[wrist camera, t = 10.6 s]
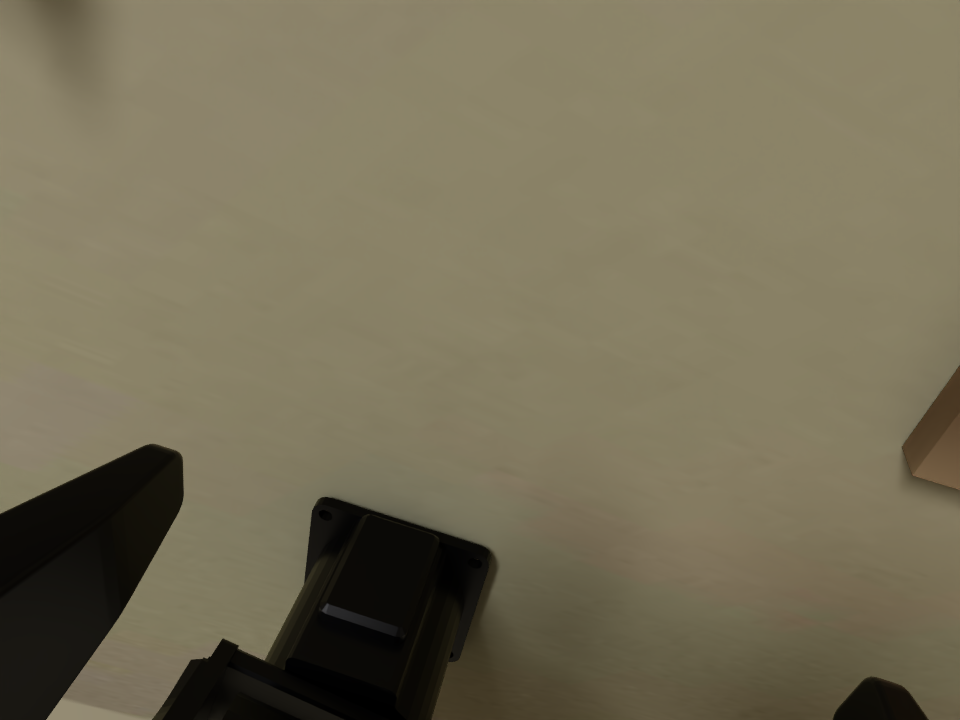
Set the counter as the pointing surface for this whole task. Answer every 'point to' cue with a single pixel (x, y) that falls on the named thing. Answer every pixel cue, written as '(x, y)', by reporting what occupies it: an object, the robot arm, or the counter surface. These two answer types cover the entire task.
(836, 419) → the counter surface
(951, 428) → the plate
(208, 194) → the counter surface
